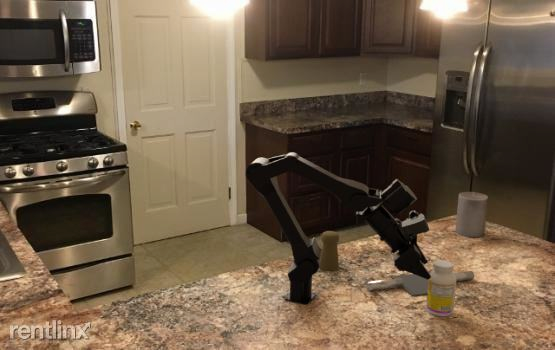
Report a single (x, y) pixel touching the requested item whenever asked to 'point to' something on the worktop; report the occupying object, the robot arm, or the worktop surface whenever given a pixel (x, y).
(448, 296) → the supplement bottle
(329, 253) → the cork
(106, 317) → the worktop surface
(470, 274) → the steel shafts
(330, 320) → the worktop surface
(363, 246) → the worktop surface
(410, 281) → the rubber pad
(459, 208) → the pillar candle
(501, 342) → the worktop surface
